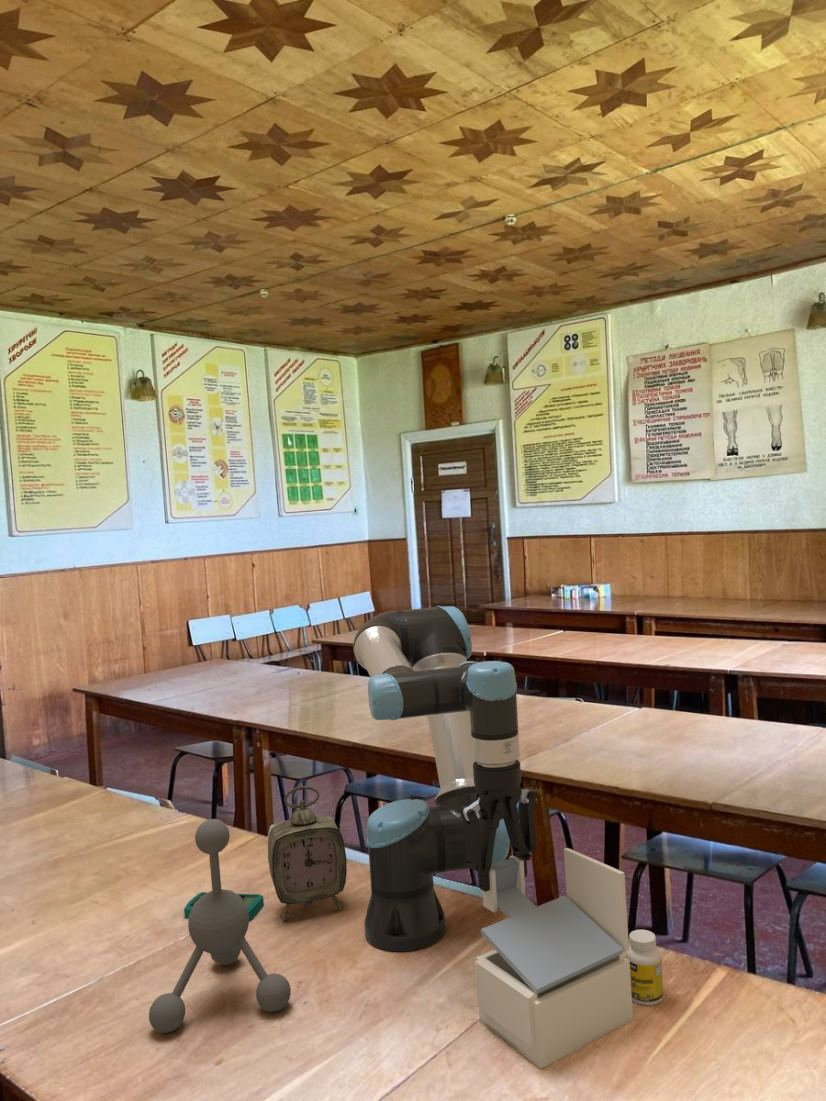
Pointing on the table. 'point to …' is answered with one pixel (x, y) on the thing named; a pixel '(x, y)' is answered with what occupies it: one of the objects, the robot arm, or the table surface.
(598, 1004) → the carton
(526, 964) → the flap
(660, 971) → the supplement bottle
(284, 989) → the molecular model
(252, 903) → the digital multimeter
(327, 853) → the tabletop clock
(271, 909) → the table surface
